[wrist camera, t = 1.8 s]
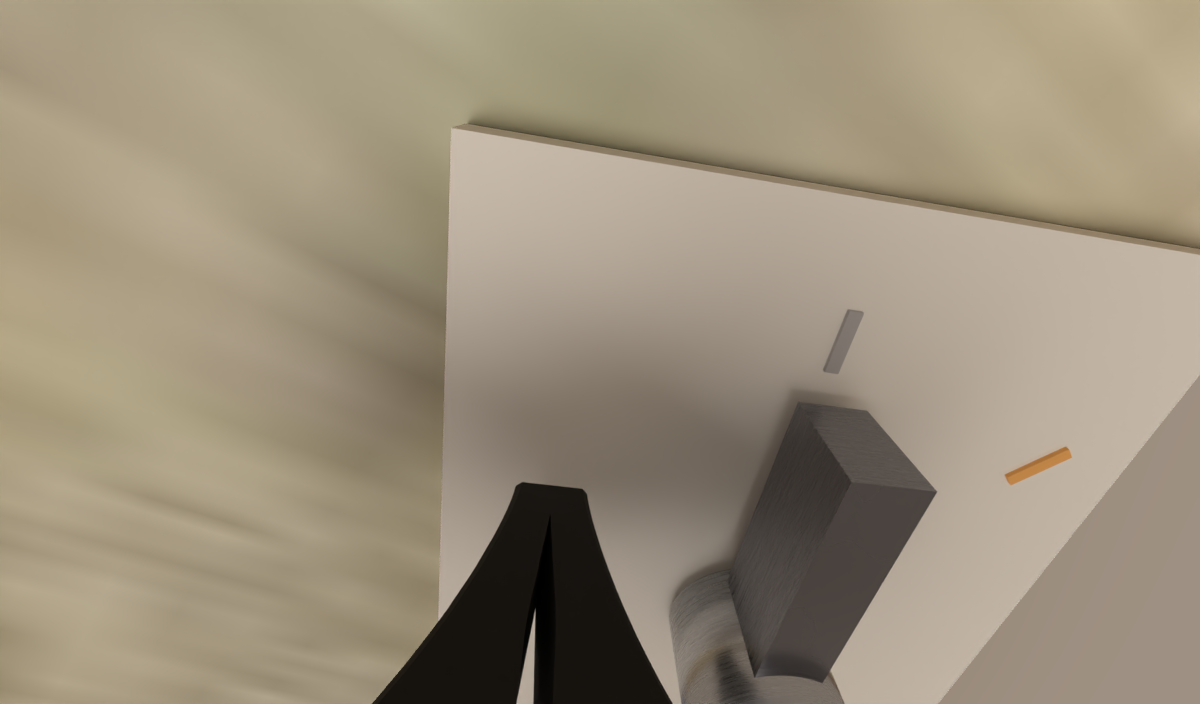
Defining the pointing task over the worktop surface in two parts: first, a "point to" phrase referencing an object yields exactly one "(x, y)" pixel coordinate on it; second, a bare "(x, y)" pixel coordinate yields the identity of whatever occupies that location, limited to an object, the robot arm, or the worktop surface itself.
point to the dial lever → (801, 565)
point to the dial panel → (790, 377)
